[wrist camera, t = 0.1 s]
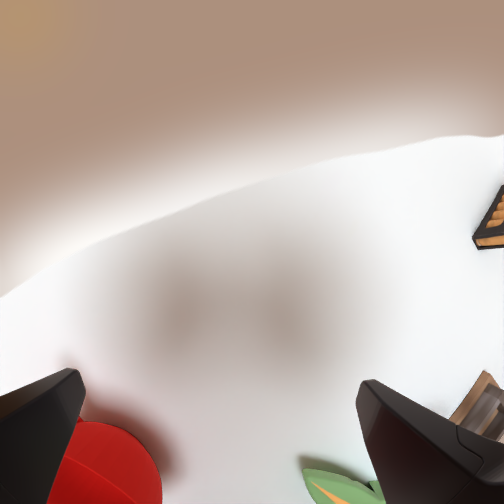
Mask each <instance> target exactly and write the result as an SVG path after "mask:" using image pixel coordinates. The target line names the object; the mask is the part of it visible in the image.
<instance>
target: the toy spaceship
mask: <svg viewBox="0 0 504 504" xmlns="http://www.w3.org/2000/svg"><path fill="white" fill-rule="evenodd" d="M302 473H303V477H304V480H305V484H306V487H307V489H308V491H309V493H310V495H311V497H312V498H313V500H314V501H315V502H316V503H317V504H386V502H385V499H384V496H383V493H382V490H381V487H380V484H379V481H370V482H369V483H370V485H371V486H372V488H373V490H374V491H375V492H373V491H372V490H370V489H369V488H367V487H366V486H364V485H363V484H361V483H360V482H358V481H356V480H355V481H352V480H350V478H348V477H346V476H343V475H339V474H336V473H331V472H327V471H322V470H316V469H309V468H305V469H303V470H302Z"/></svg>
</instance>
